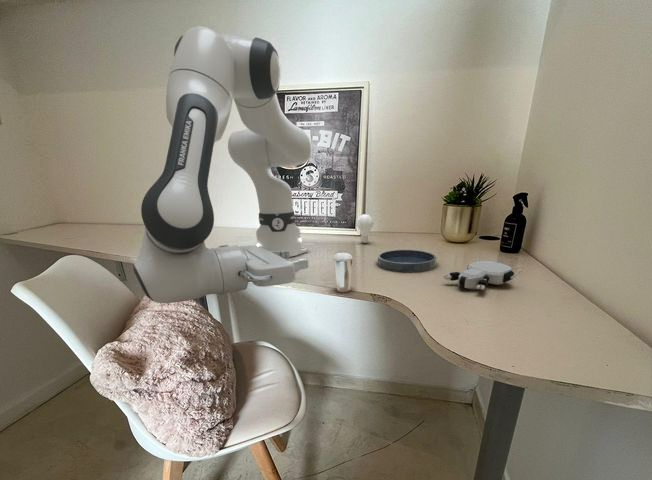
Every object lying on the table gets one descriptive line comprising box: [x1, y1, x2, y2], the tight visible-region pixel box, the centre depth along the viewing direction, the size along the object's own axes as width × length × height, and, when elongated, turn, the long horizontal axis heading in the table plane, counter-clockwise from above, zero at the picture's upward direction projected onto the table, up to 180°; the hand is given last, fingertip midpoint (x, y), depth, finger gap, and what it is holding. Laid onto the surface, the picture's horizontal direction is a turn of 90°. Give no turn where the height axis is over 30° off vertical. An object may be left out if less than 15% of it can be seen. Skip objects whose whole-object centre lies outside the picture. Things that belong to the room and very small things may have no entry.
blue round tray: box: [377, 249, 438, 273], centre depth 101 cm, size 17×17×2 cm
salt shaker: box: [332, 249, 357, 293], centre depth 79 cm, size 4×5×10 cm
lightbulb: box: [356, 213, 374, 244], centre depth 128 cm, size 6×6×11 cm
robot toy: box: [443, 259, 523, 291], centre depth 82 cm, size 12×4×15 cm
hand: (297, 258), depth 72 cm, fingers open, 8 cm apart
